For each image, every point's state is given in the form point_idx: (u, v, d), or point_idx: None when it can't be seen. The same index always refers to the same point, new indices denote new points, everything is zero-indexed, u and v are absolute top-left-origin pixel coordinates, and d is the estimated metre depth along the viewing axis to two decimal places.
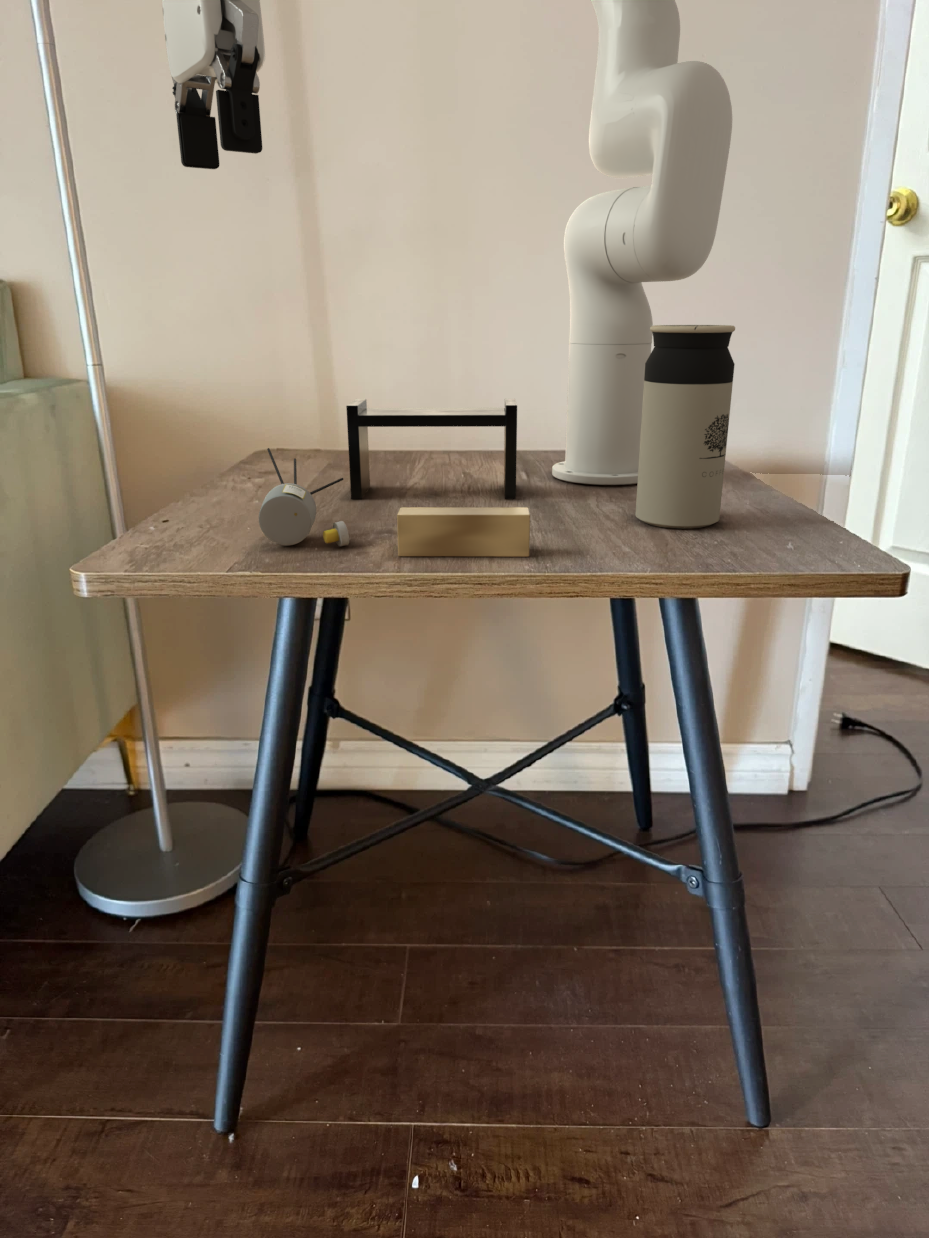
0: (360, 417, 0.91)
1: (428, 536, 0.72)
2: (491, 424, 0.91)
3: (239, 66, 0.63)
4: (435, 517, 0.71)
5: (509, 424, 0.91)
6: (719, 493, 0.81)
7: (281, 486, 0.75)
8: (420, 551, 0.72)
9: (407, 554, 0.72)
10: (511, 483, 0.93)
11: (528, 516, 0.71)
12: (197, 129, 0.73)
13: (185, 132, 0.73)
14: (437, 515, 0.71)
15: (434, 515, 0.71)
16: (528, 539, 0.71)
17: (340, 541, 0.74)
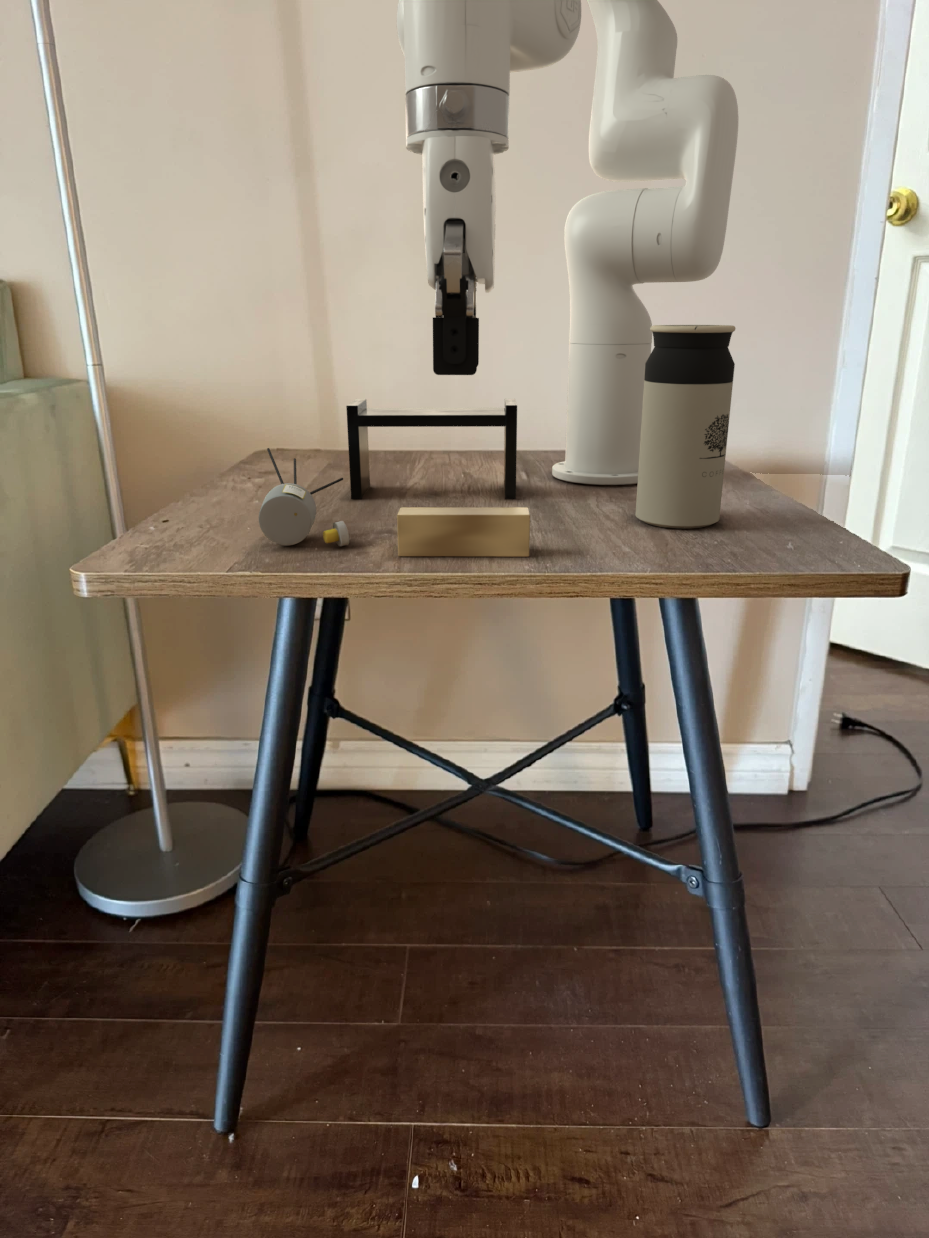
0: (360, 417, 0.91)
1: (428, 536, 0.72)
2: (491, 424, 0.91)
3: (446, 297, 0.60)
4: (435, 517, 0.71)
5: (509, 424, 0.91)
6: (719, 493, 0.81)
7: (281, 486, 0.75)
8: (420, 551, 0.72)
9: (407, 554, 0.72)
10: (511, 483, 0.93)
11: (528, 516, 0.71)
12: None
13: None
14: (437, 515, 0.71)
15: (434, 515, 0.71)
16: (528, 539, 0.71)
17: (340, 541, 0.74)
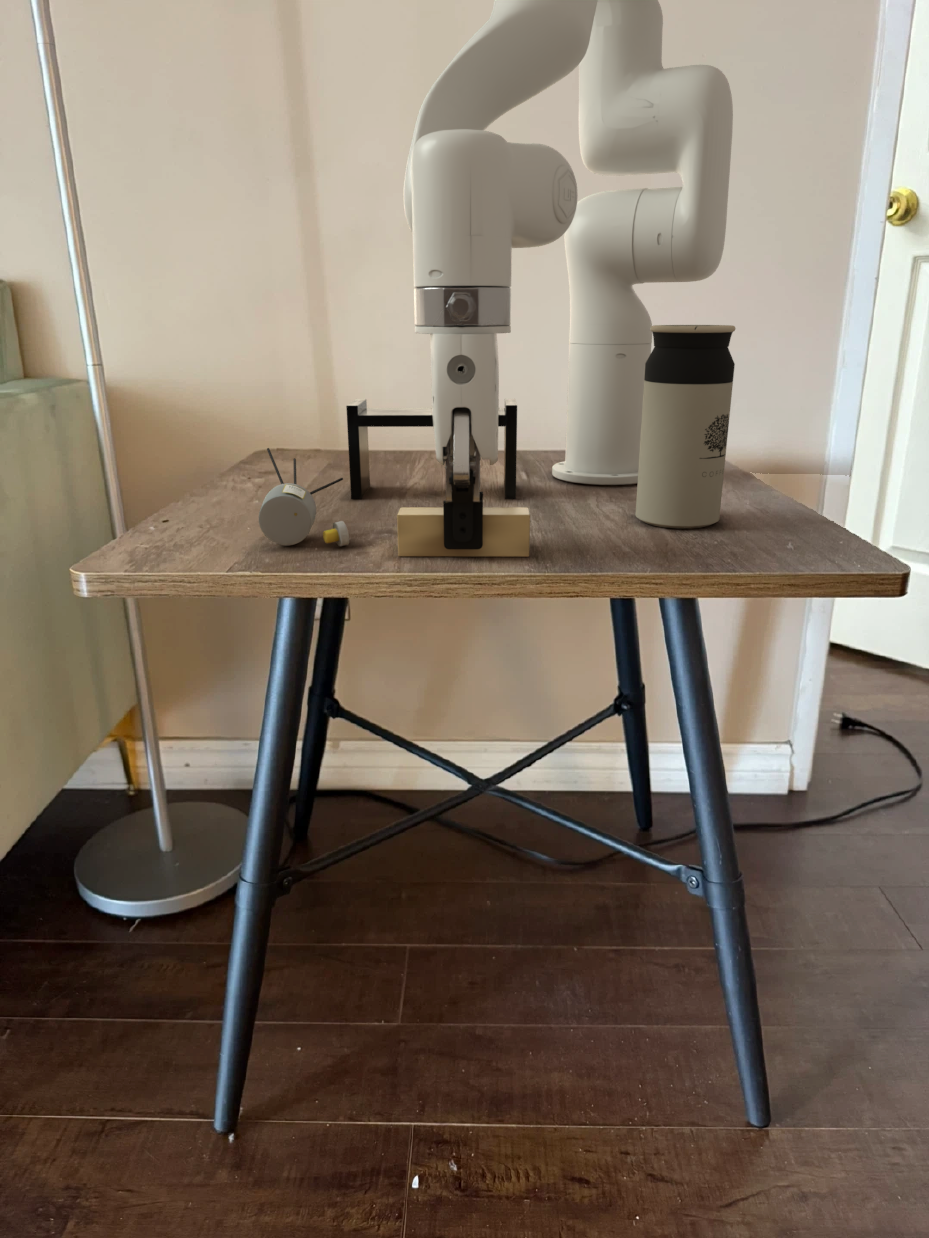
0: (360, 417, 0.91)
1: (428, 536, 0.72)
2: None
3: (456, 490, 0.68)
4: (435, 517, 0.71)
5: (509, 424, 0.91)
6: (719, 493, 0.81)
7: (281, 486, 0.75)
8: (420, 551, 0.72)
9: (407, 554, 0.72)
10: (511, 483, 0.93)
11: (528, 516, 0.71)
12: None
13: None
14: (437, 515, 0.71)
15: (434, 515, 0.71)
16: (528, 539, 0.71)
17: (340, 541, 0.74)
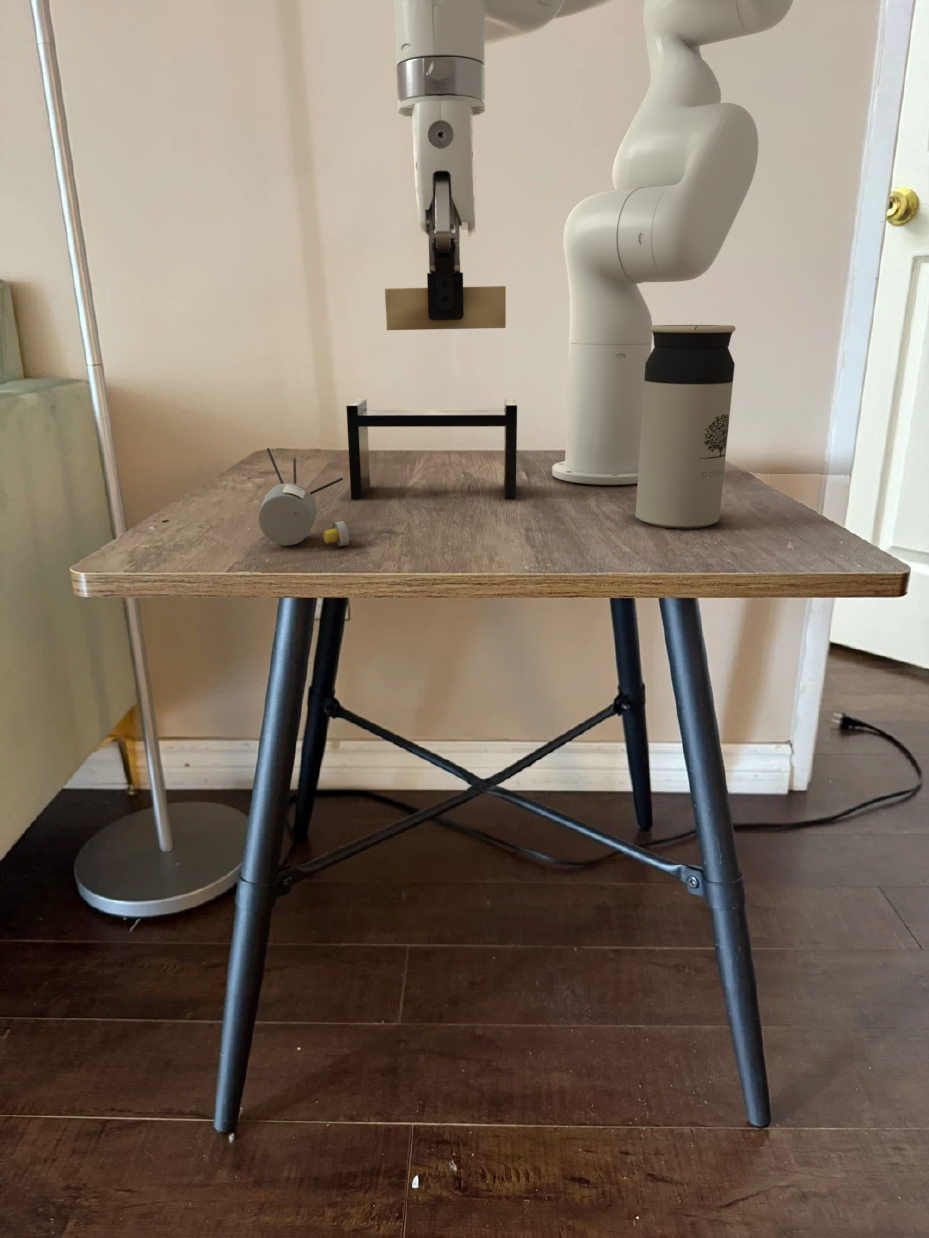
0: (360, 417, 0.91)
1: (413, 309, 0.79)
2: (491, 424, 0.91)
3: (438, 256, 0.75)
4: (419, 290, 0.78)
5: (509, 424, 0.91)
6: (719, 493, 0.81)
7: (281, 486, 0.75)
8: (406, 324, 0.79)
9: (394, 328, 0.79)
10: (511, 483, 0.93)
11: (504, 288, 0.78)
12: None
13: None
14: (421, 288, 0.78)
15: (418, 288, 0.78)
16: (504, 310, 0.79)
17: (340, 541, 0.74)
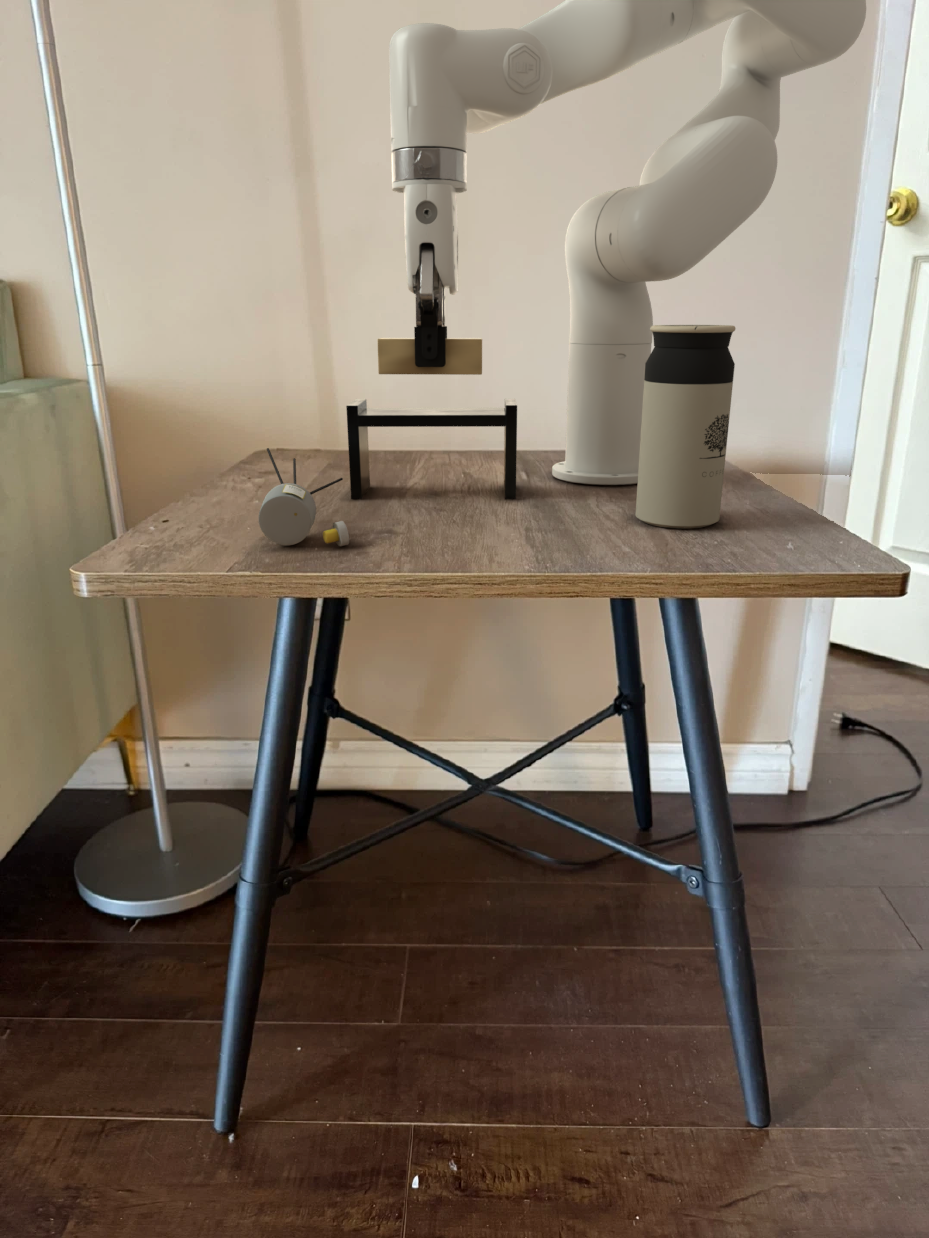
0: (360, 417, 0.91)
1: (402, 357, 0.91)
2: (491, 424, 0.91)
3: (423, 313, 0.87)
4: (407, 341, 0.90)
5: (509, 424, 0.91)
6: (719, 493, 0.81)
7: (281, 486, 0.75)
8: (396, 370, 0.91)
9: (385, 372, 0.91)
10: (511, 483, 0.93)
11: (480, 340, 0.90)
12: None
13: None
14: (409, 339, 0.90)
15: (406, 339, 0.90)
16: (481, 360, 0.90)
17: (340, 541, 0.75)
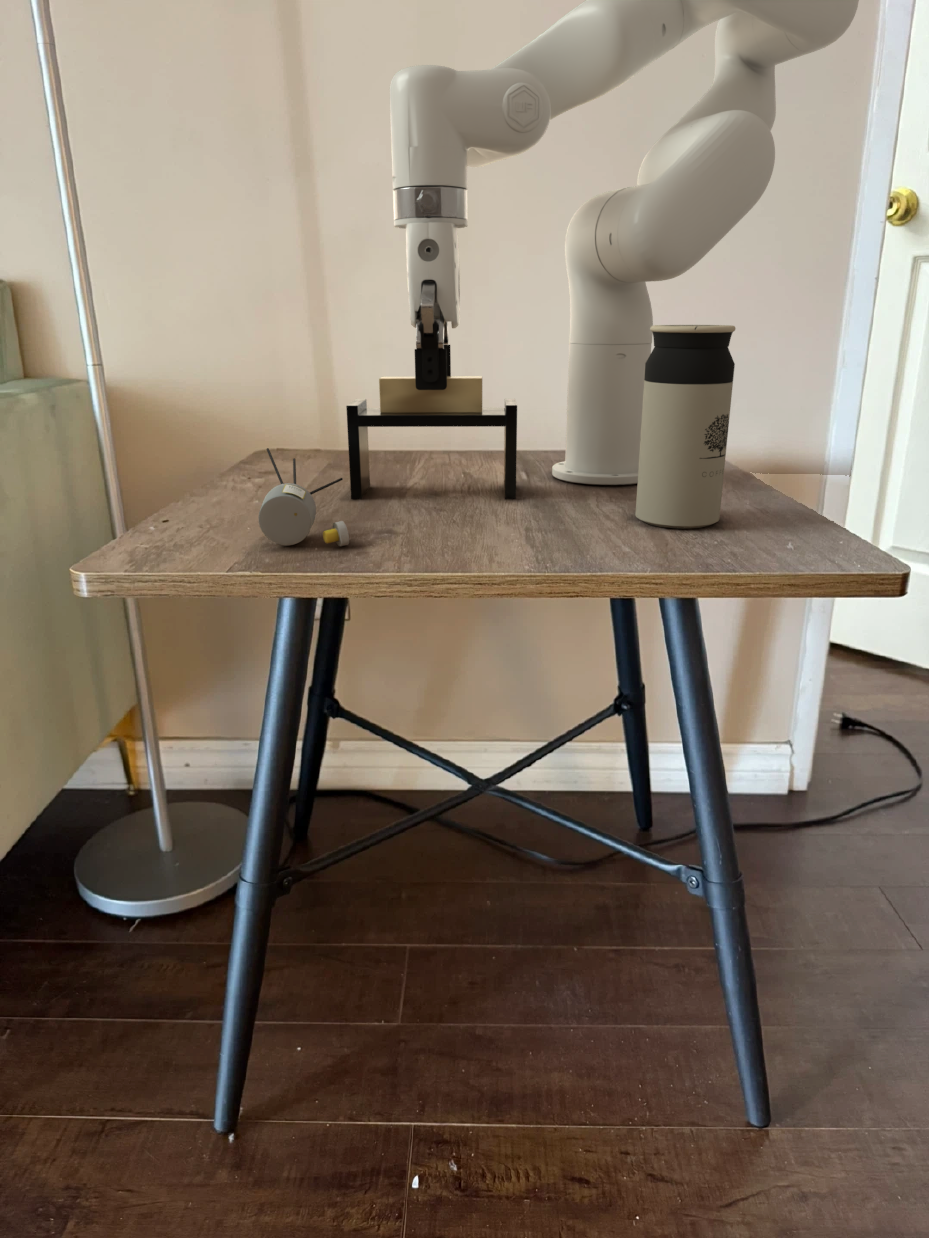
0: (360, 417, 0.91)
1: (403, 396, 0.92)
2: (491, 424, 0.91)
3: (423, 336, 0.85)
4: (408, 380, 0.91)
5: (509, 424, 0.91)
6: (719, 493, 0.81)
7: (281, 486, 0.75)
8: (397, 408, 0.92)
9: (387, 411, 0.93)
10: (511, 483, 0.93)
11: (481, 379, 0.91)
12: None
13: None
14: (410, 379, 0.91)
15: (408, 379, 0.91)
16: (481, 398, 0.92)
17: (340, 541, 0.75)
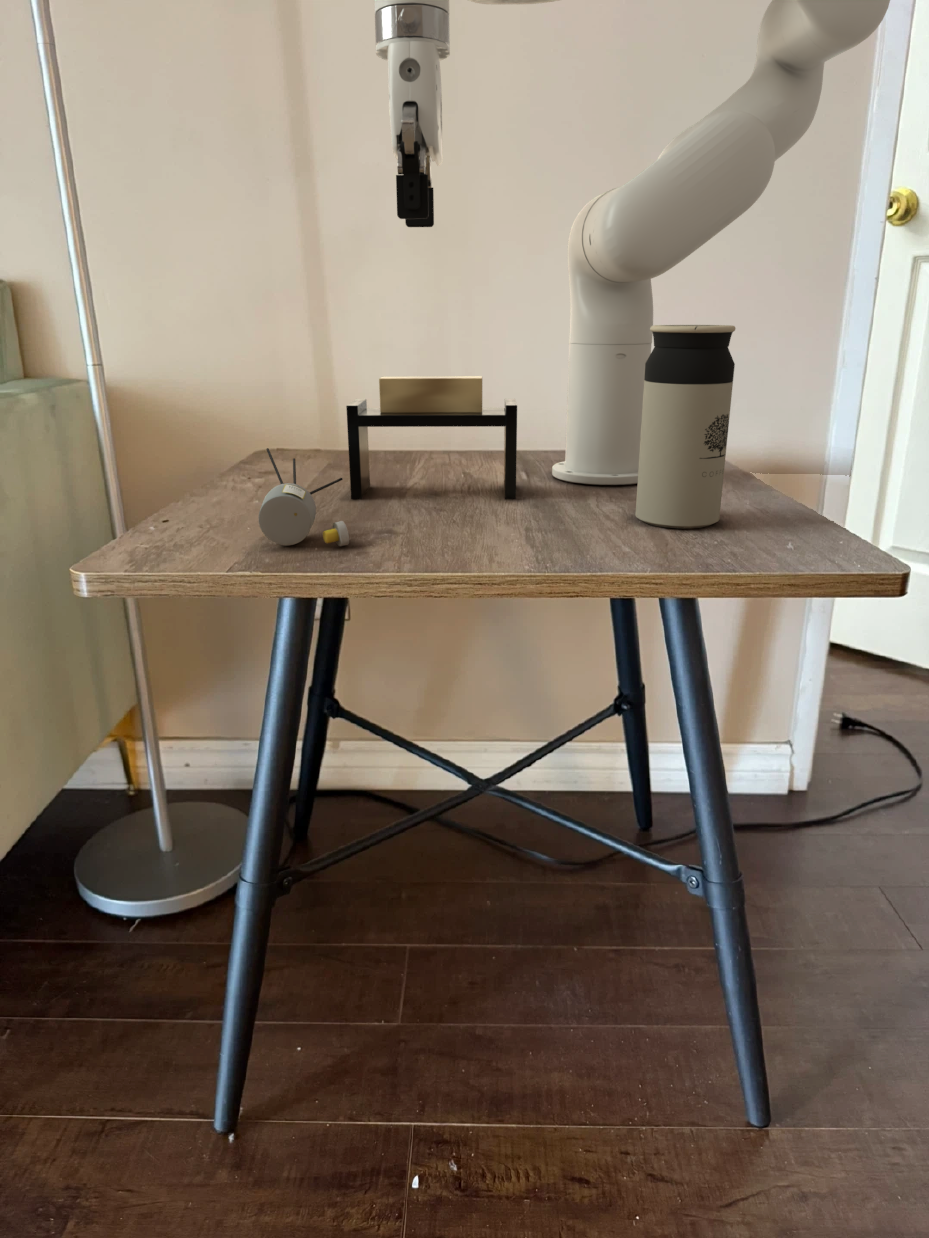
0: (360, 417, 0.91)
1: (403, 396, 0.92)
2: (491, 424, 0.91)
3: (405, 157, 0.85)
4: (408, 380, 0.91)
5: (509, 424, 0.91)
6: (719, 493, 0.81)
7: (281, 486, 0.75)
8: (397, 408, 0.92)
9: (387, 411, 0.93)
10: (511, 483, 0.93)
11: (481, 379, 0.91)
12: None
13: None
14: (410, 379, 0.91)
15: (408, 379, 0.91)
16: (481, 398, 0.92)
17: (340, 541, 0.75)
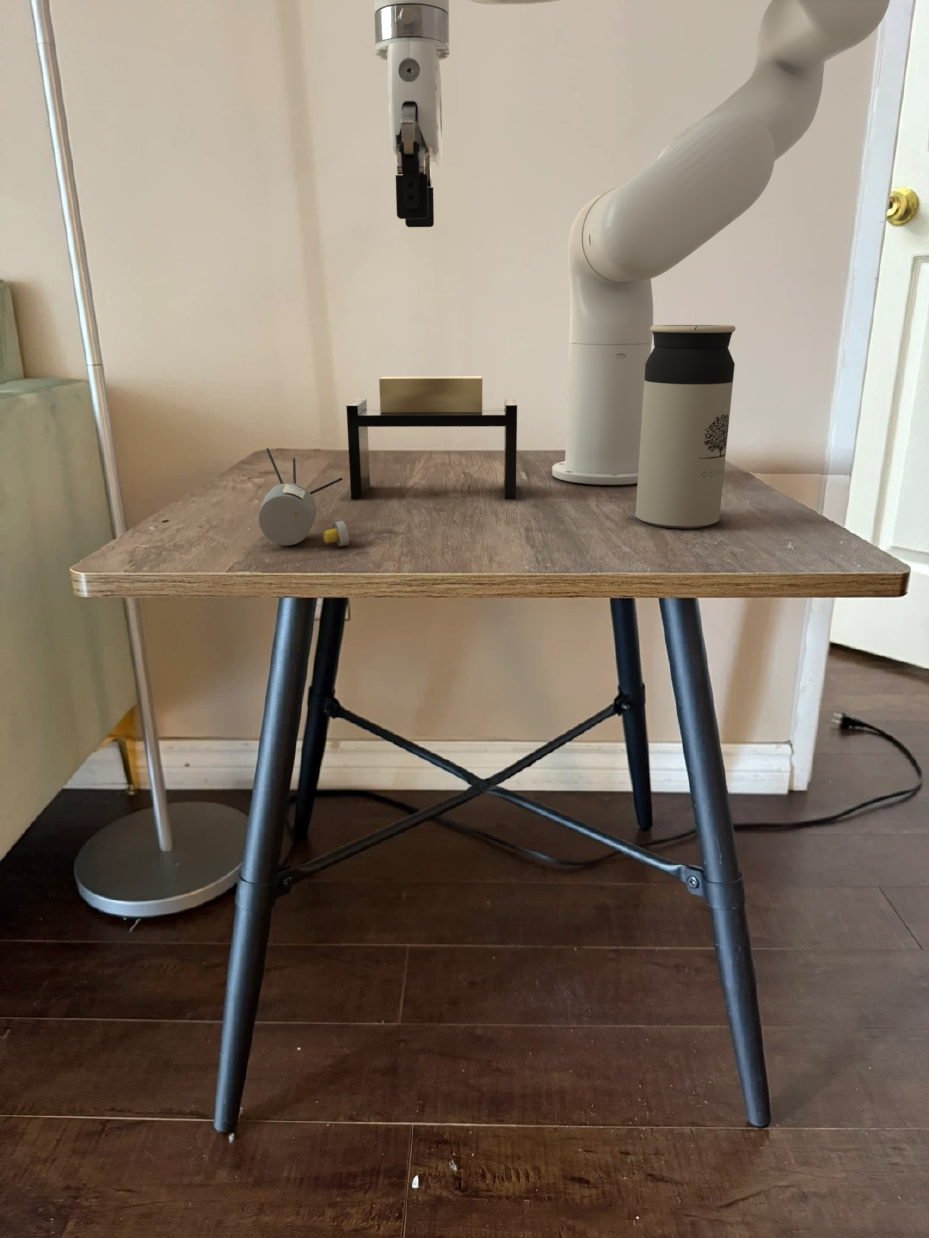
0: (360, 417, 0.91)
1: (403, 396, 0.92)
2: (491, 424, 0.91)
3: (404, 157, 0.85)
4: (408, 380, 0.91)
5: (509, 424, 0.91)
6: (719, 493, 0.81)
7: (281, 486, 0.75)
8: (397, 408, 0.92)
9: (387, 411, 0.93)
10: (511, 483, 0.93)
11: (481, 379, 0.91)
12: None
13: None
14: (410, 379, 0.91)
15: (408, 379, 0.91)
16: (481, 398, 0.92)
17: (340, 541, 0.75)
